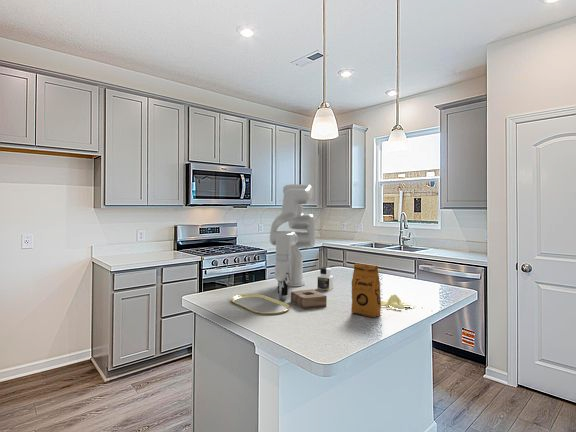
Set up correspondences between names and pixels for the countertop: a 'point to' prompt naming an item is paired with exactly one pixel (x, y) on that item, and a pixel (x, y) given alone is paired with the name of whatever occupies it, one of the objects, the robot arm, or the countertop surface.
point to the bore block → (308, 299)
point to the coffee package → (366, 290)
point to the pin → (281, 298)
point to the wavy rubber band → (264, 298)
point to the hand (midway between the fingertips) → (282, 294)
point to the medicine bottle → (325, 279)
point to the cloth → (394, 302)
